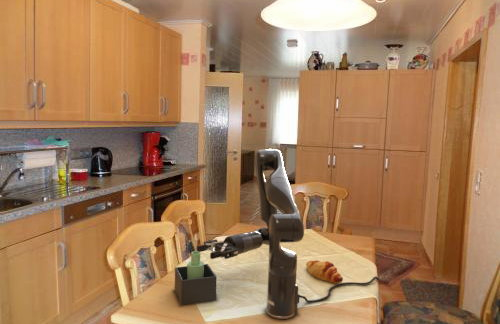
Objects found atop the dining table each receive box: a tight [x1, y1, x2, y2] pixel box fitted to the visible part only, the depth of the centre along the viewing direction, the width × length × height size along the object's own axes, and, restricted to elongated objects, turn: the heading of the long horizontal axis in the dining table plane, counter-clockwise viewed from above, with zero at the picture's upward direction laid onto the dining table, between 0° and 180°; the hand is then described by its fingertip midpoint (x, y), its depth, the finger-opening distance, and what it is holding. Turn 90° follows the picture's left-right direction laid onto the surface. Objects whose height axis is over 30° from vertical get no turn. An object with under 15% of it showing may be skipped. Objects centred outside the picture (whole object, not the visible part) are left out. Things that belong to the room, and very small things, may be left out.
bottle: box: [186, 250, 205, 280], centre depth 138 cm, size 6×6×15 cm
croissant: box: [305, 259, 344, 284], centre depth 159 cm, size 21×10×8 cm, turn 32°
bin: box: [174, 263, 218, 306], centre depth 138 cm, size 12×12×9 cm
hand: (203, 252), depth 139 cm, fingers open, 8 cm apart
